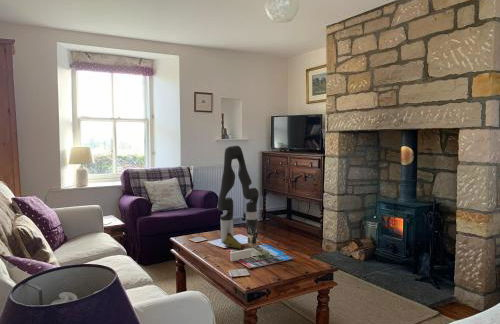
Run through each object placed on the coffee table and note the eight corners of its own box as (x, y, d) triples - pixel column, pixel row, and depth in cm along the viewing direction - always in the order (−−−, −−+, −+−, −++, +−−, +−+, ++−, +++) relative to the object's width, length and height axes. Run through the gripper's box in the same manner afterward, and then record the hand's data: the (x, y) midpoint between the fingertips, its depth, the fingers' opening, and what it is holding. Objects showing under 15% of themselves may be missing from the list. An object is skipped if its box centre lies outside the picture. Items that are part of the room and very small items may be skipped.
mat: (243, 249, 246) (243, 249, 246) (252, 248, 249) (252, 247, 249) (253, 257, 232) (253, 256, 232) (262, 255, 234) (262, 254, 234)
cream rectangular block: (230, 260, 226) (230, 252, 226) (250, 257, 232) (250, 248, 231) (231, 261, 225) (231, 253, 224) (251, 257, 230) (251, 249, 230)
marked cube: (250, 245, 236) (250, 236, 236) (247, 243, 241) (247, 234, 240) (257, 244, 238) (257, 235, 238) (254, 242, 243) (254, 233, 242)
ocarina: (246, 249, 247) (245, 235, 246) (241, 251, 243) (240, 237, 242) (225, 244, 260) (225, 230, 259) (220, 246, 256) (219, 232, 255)
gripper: (242, 216, 243) (243, 240, 245) (251, 220, 230) (251, 246, 232) (252, 215, 246) (253, 239, 248) (261, 219, 233) (262, 244, 234)
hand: (252, 242), depth 240 cm, fingers closed on marked cube, 5 cm apart
